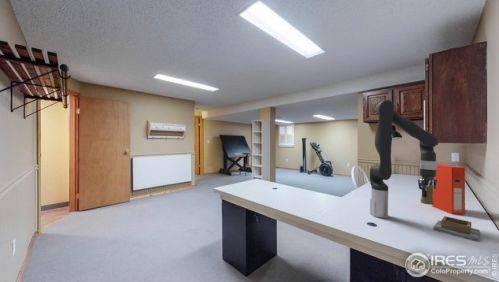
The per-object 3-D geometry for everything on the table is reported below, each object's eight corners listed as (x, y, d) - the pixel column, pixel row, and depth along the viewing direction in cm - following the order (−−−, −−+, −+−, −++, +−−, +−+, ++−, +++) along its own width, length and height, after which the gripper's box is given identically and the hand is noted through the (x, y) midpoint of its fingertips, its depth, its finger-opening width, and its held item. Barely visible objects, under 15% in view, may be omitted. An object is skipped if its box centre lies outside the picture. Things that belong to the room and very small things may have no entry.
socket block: (477, 241, 95) (477, 230, 95) (433, 229, 108) (433, 219, 108) (479, 232, 105) (479, 222, 105) (438, 222, 118) (438, 213, 118)
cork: (417, 201, 122) (418, 183, 122) (426, 201, 122) (427, 184, 123) (427, 204, 116) (427, 186, 116) (436, 204, 116) (437, 186, 117)
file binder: (451, 214, 133) (451, 167, 133) (431, 206, 150) (432, 164, 150) (465, 215, 132) (465, 167, 132) (443, 207, 149) (443, 164, 149)
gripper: (427, 169, 114) (426, 198, 113) (443, 169, 118) (442, 197, 118) (413, 167, 121) (412, 195, 120) (428, 167, 125) (427, 194, 125)
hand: (427, 196), depth 119 cm, fingers closed on cork, 4 cm apart
